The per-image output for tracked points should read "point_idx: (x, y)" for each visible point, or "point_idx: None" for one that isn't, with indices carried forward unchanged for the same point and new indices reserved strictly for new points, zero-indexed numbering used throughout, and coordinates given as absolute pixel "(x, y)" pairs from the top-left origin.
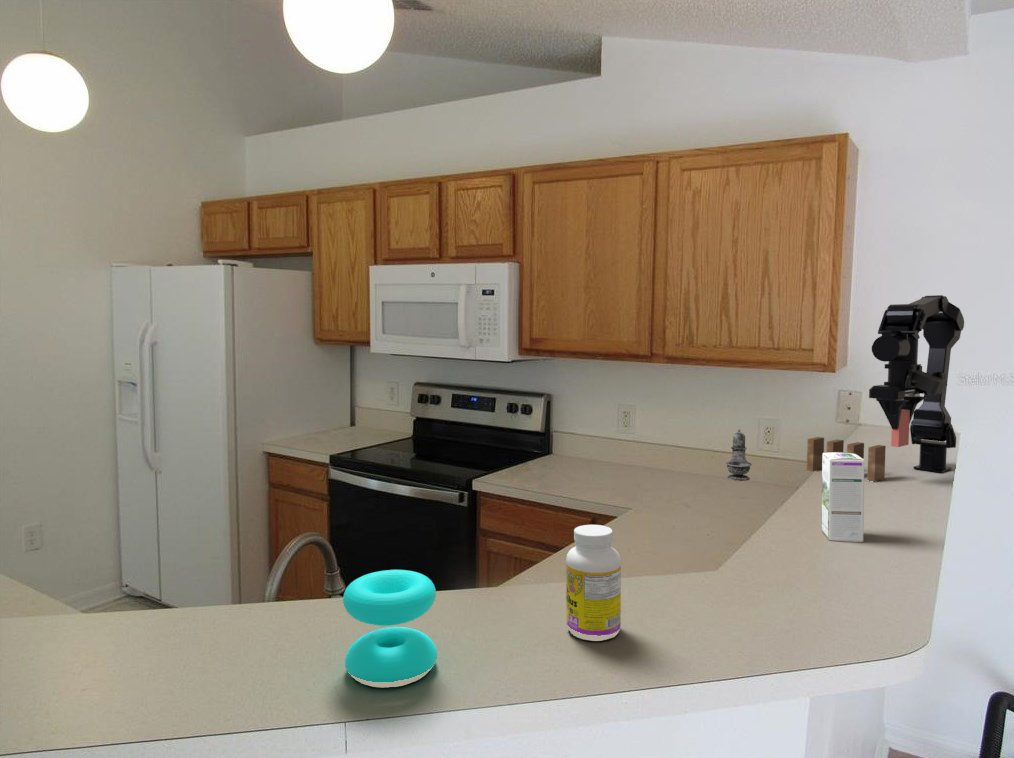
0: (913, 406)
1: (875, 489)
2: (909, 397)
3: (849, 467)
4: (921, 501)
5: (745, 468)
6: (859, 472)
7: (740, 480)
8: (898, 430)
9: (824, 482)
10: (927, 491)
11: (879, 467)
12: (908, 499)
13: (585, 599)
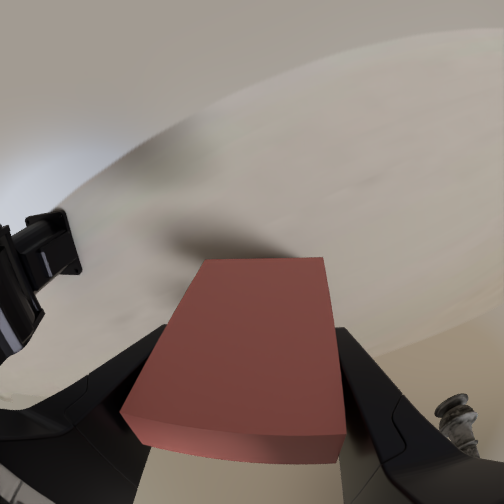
0: (78, 420)
1: (399, 220)
2: (61, 501)
3: None
4: (436, 79)
5: (469, 410)
6: None
7: (467, 395)
8: (331, 315)
9: None
10: (304, 108)
11: None
12: (443, 111)
13: None
